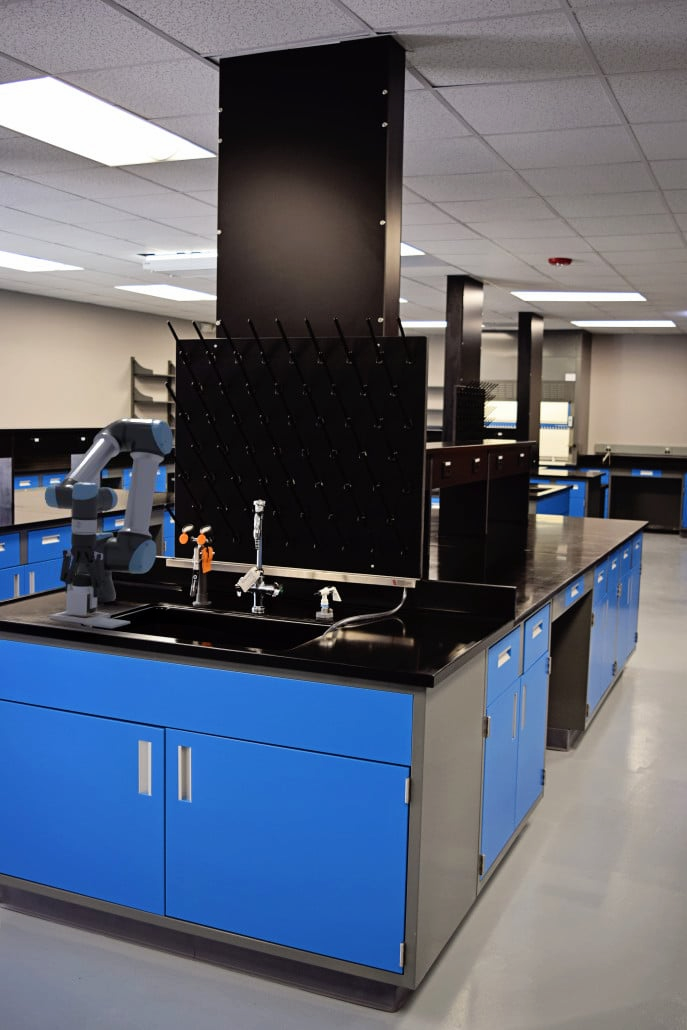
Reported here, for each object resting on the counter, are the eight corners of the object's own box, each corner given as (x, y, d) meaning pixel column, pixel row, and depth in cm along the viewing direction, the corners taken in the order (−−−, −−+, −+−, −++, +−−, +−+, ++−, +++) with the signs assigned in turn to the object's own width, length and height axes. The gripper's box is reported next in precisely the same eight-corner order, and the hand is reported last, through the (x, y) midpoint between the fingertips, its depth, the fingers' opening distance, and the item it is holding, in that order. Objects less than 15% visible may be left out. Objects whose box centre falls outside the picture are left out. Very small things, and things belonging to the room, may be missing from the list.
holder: (75, 612, 300) (75, 609, 300) (110, 617, 296) (110, 613, 296) (49, 618, 288) (49, 614, 288) (86, 623, 284) (86, 619, 283)
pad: (102, 619, 292) (102, 617, 292) (130, 623, 288) (130, 621, 288) (83, 624, 282) (83, 622, 282) (111, 628, 279) (111, 626, 279)
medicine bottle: (86, 616, 288) (88, 577, 287) (65, 614, 290) (66, 575, 288) (97, 612, 295) (98, 574, 294) (76, 610, 296) (77, 572, 295)
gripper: (48, 531, 290) (46, 604, 292) (105, 536, 283) (103, 611, 285) (63, 529, 297) (61, 600, 299) (119, 534, 290) (117, 607, 292)
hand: (81, 606), depth 292 cm, fingers closed on medicine bottle, 7 cm apart
